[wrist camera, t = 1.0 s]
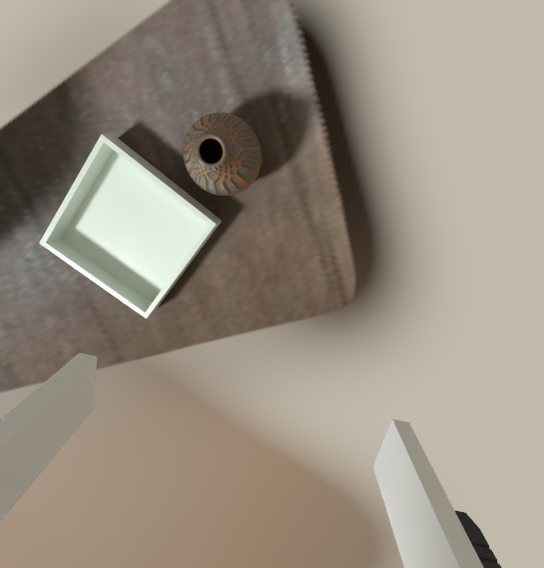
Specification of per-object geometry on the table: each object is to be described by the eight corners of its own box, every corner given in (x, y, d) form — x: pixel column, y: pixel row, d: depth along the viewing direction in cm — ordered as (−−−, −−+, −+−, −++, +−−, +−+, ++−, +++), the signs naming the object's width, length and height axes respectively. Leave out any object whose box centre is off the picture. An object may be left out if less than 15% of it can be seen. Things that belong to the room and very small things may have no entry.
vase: (227, 104, 32) (205, 76, 23) (278, 157, 33) (275, 149, 24) (182, 159, 33) (147, 152, 25) (232, 208, 34) (215, 217, 26)
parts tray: (58, 238, 36) (39, 243, 33) (117, 138, 33) (101, 134, 30) (156, 308, 38) (146, 318, 35) (222, 220, 35) (216, 224, 32)
